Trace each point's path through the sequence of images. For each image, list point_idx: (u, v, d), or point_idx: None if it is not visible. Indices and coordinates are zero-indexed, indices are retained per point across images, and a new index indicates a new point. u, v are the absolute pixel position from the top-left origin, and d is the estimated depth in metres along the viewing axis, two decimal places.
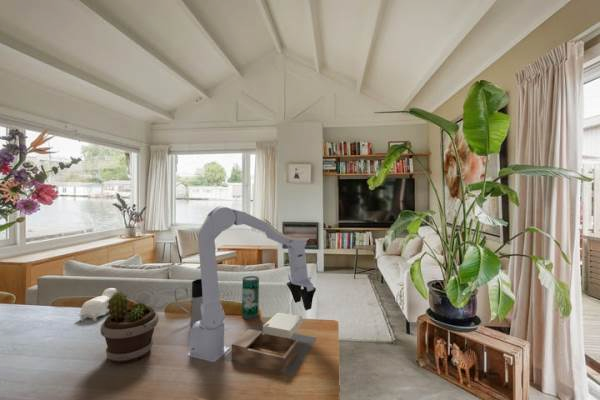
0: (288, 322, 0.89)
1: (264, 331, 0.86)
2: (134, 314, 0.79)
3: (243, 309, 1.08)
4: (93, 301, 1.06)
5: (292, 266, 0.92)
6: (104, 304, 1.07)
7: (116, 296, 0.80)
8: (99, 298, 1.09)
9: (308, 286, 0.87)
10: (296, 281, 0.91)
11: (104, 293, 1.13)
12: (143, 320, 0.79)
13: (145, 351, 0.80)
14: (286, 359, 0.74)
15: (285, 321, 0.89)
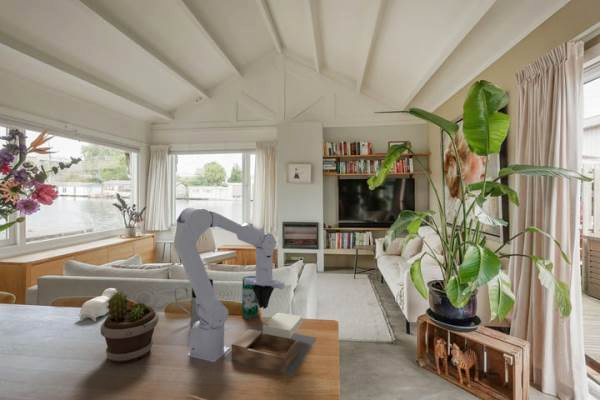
0: (288, 322, 0.89)
1: (264, 331, 0.86)
2: (134, 314, 0.79)
3: (243, 309, 1.08)
4: (93, 301, 1.06)
5: (259, 267, 0.92)
6: (104, 304, 1.07)
7: (116, 296, 0.80)
8: (99, 298, 1.09)
9: (282, 284, 0.92)
10: (266, 282, 0.92)
11: (104, 293, 1.13)
12: (143, 320, 0.79)
13: (145, 351, 0.80)
14: (286, 359, 0.74)
15: (285, 321, 0.89)
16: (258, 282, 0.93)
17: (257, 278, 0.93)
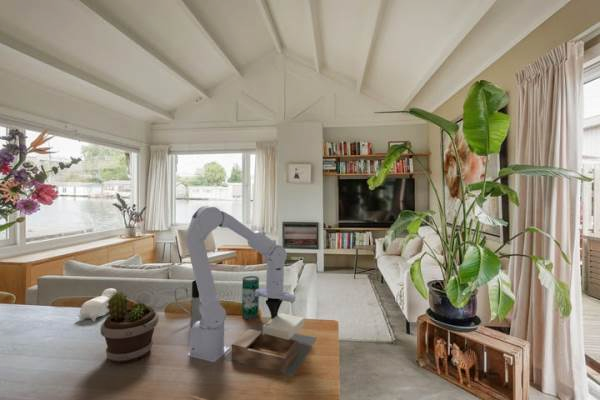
0: (288, 323, 0.88)
1: (264, 331, 0.86)
2: (134, 314, 0.79)
3: (243, 309, 1.08)
4: (92, 301, 1.06)
5: (269, 279, 0.91)
6: (103, 304, 1.07)
7: (116, 296, 0.80)
8: (98, 298, 1.08)
9: (293, 298, 0.90)
10: (276, 295, 0.90)
11: (104, 293, 1.13)
12: (143, 320, 0.79)
13: (145, 351, 0.80)
14: (286, 359, 0.74)
15: (286, 322, 0.89)
16: (268, 295, 0.91)
17: (268, 291, 0.91)
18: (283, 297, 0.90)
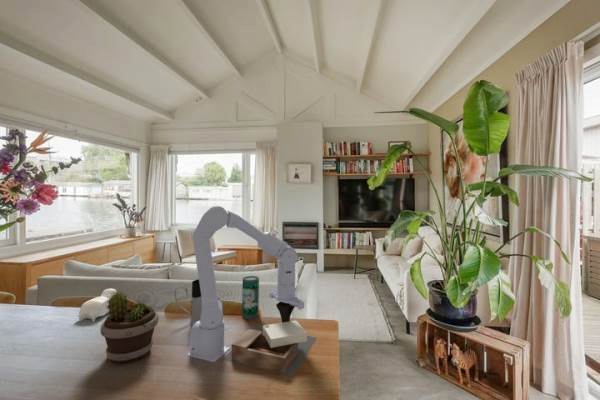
0: (285, 331, 0.82)
1: (263, 331, 0.86)
2: (134, 314, 0.79)
3: (243, 309, 1.08)
4: (92, 302, 1.06)
5: (279, 282, 0.88)
6: (103, 304, 1.07)
7: (116, 296, 0.80)
8: (98, 299, 1.08)
9: (300, 304, 0.84)
10: (285, 299, 0.87)
11: (103, 294, 1.12)
12: (143, 320, 0.79)
13: (145, 351, 0.80)
14: (286, 359, 0.74)
15: (284, 330, 0.83)
16: (278, 298, 0.88)
17: (277, 293, 0.89)
18: (291, 302, 0.86)
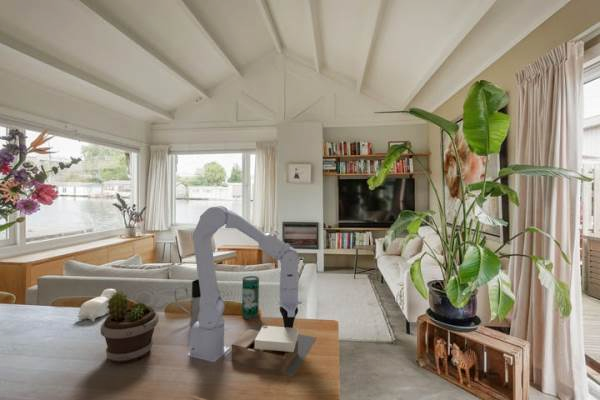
0: (275, 336, 0.79)
1: None
2: (134, 314, 0.79)
3: (243, 309, 1.08)
4: (92, 302, 1.06)
5: (281, 285, 0.84)
6: (103, 305, 1.06)
7: (116, 296, 0.80)
8: (98, 299, 1.08)
9: (289, 311, 0.79)
10: (282, 302, 0.84)
11: (103, 294, 1.12)
12: (143, 320, 0.79)
13: (145, 351, 0.80)
14: (286, 359, 0.74)
15: (276, 335, 0.80)
16: (279, 300, 0.86)
17: None
18: (284, 307, 0.81)
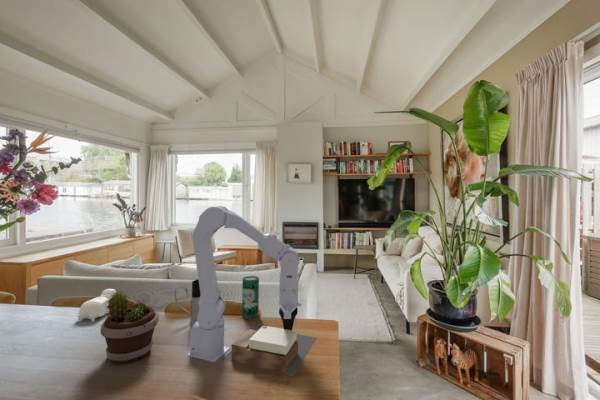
0: (270, 337, 0.79)
1: None
2: (134, 314, 0.79)
3: (243, 309, 1.08)
4: (91, 302, 1.05)
5: (280, 286, 0.83)
6: (102, 305, 1.06)
7: (116, 296, 0.80)
8: (97, 299, 1.08)
9: (285, 313, 0.77)
10: (280, 304, 0.83)
11: (103, 294, 1.12)
12: (143, 320, 0.79)
13: (145, 351, 0.80)
14: (286, 359, 0.74)
15: (271, 336, 0.79)
16: None
17: None
18: (282, 308, 0.80)
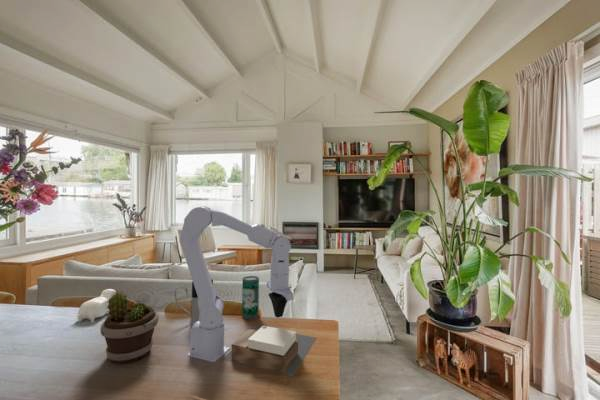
0: (268, 338, 0.78)
1: None
2: (134, 314, 0.79)
3: (243, 309, 1.08)
4: (91, 302, 1.05)
5: (272, 271, 0.85)
6: (102, 305, 1.06)
7: (116, 296, 0.80)
8: (97, 299, 1.08)
9: (288, 295, 0.81)
10: (275, 289, 0.84)
11: (102, 294, 1.12)
12: (143, 320, 0.79)
13: (145, 351, 0.80)
14: (286, 359, 0.74)
15: (270, 336, 0.79)
16: (270, 287, 0.86)
17: (270, 283, 0.87)
18: (280, 292, 0.83)
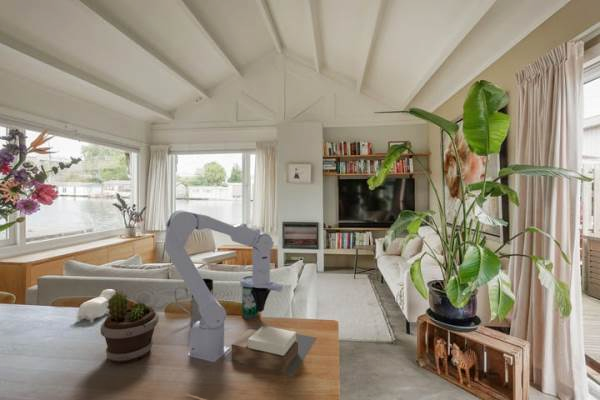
0: (268, 338, 0.78)
1: None
2: (134, 314, 0.79)
3: (243, 309, 1.08)
4: (90, 302, 1.05)
5: (255, 268, 0.89)
6: (101, 305, 1.06)
7: (116, 296, 0.80)
8: (96, 299, 1.07)
9: (280, 287, 0.88)
10: (263, 284, 0.88)
11: (102, 294, 1.12)
12: (143, 320, 0.79)
13: (145, 351, 0.80)
14: (286, 359, 0.74)
15: (270, 336, 0.79)
16: (255, 284, 0.88)
17: (254, 280, 0.89)
18: (270, 286, 0.88)
